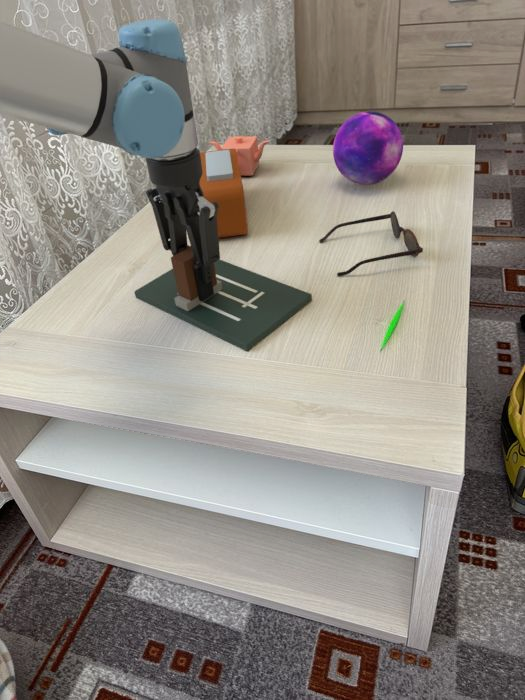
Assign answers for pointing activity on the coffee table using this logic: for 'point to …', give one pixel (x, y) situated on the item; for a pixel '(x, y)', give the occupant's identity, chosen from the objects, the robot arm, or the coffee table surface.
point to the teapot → (244, 152)
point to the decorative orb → (368, 148)
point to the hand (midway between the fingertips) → (198, 293)
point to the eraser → (189, 280)
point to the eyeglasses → (408, 235)
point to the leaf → (392, 325)
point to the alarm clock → (224, 190)
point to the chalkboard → (232, 304)
